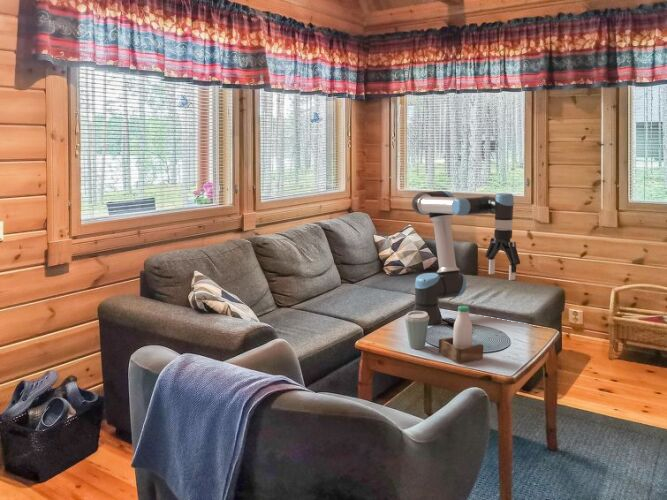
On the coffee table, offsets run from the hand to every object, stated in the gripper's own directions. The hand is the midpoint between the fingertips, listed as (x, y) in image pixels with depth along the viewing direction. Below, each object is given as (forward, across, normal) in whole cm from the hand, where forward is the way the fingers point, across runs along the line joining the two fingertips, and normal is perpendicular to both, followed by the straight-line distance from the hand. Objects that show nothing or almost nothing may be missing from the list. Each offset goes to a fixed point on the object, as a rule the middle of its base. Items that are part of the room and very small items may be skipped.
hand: (501, 276), depth 264 cm
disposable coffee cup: (+29, +7, +39) cm, 49 cm away
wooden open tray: (+29, -11, +29) cm, 42 cm away
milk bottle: (+28, -11, +28) cm, 41 cm away
